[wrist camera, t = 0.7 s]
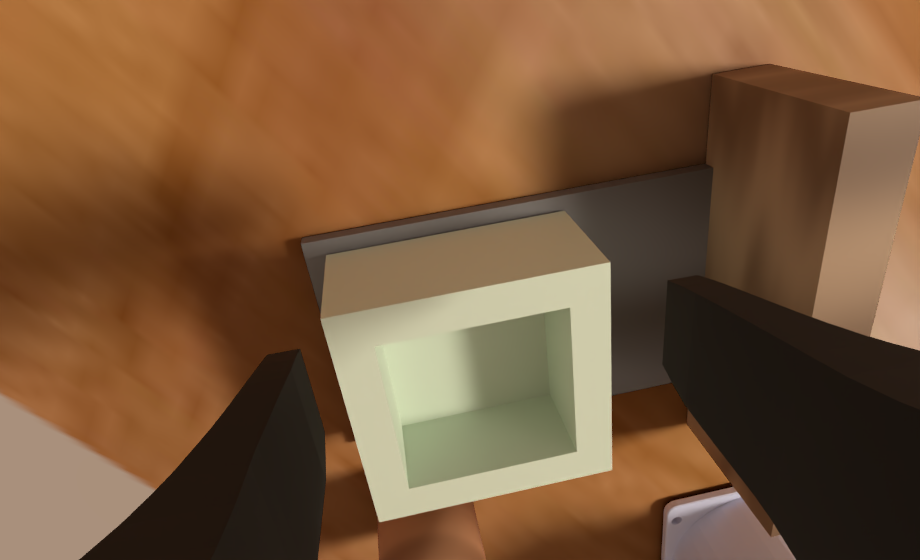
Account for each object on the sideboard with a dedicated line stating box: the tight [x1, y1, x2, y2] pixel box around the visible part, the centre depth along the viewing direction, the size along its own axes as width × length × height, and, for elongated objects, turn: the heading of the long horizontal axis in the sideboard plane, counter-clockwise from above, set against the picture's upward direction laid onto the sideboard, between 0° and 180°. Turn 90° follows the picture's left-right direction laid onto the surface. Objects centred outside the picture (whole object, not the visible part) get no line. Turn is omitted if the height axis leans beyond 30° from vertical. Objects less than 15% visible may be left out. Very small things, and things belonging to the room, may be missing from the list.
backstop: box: [301, 64, 920, 537], centre depth 19 cm, size 15×16×6 cm
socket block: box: [320, 211, 612, 522], centre depth 20 cm, size 8×8×4 cm
